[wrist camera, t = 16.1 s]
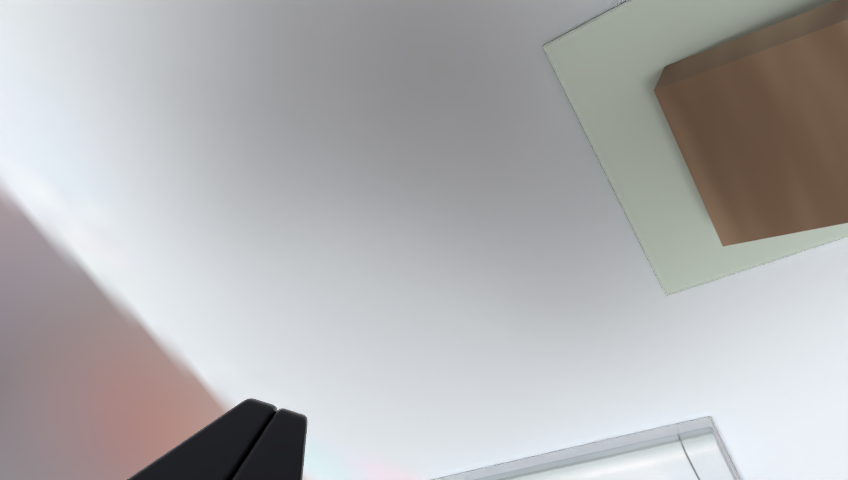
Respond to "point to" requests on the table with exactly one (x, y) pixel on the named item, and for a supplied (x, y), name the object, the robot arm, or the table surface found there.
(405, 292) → the table surface
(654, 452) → the hard drive
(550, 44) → the mat
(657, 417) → the table surface
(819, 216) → the domino
